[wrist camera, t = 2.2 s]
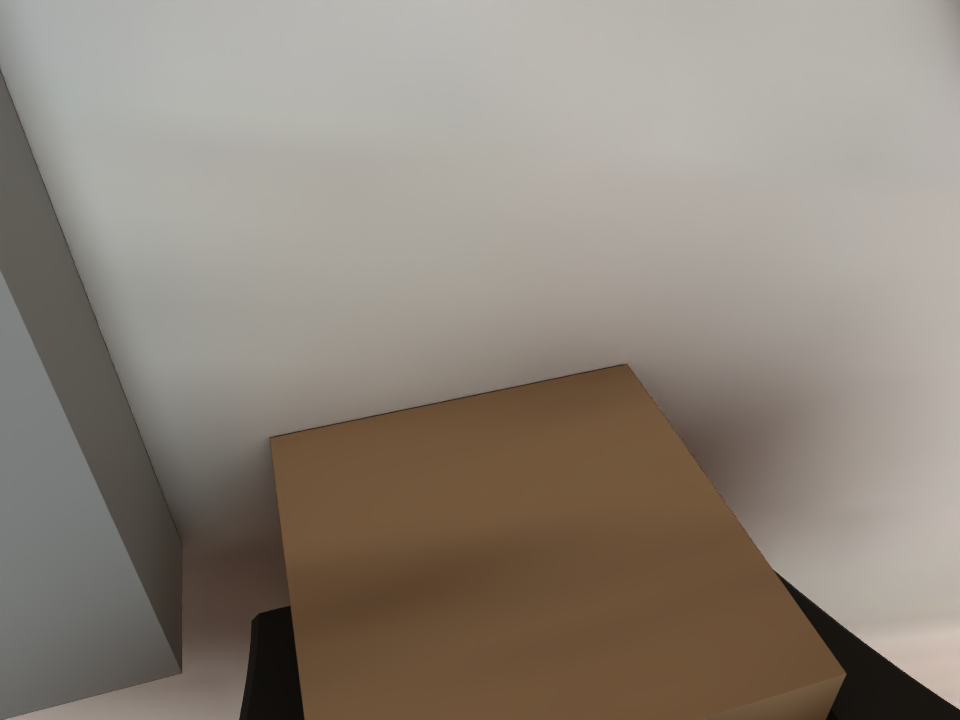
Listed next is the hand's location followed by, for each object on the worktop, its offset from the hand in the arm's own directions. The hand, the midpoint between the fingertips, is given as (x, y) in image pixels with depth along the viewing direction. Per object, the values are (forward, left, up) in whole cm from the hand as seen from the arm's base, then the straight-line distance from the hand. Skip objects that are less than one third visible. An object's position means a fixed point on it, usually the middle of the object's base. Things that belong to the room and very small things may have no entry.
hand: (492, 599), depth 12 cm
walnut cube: (0, 0, -1) cm, 1 cm away
